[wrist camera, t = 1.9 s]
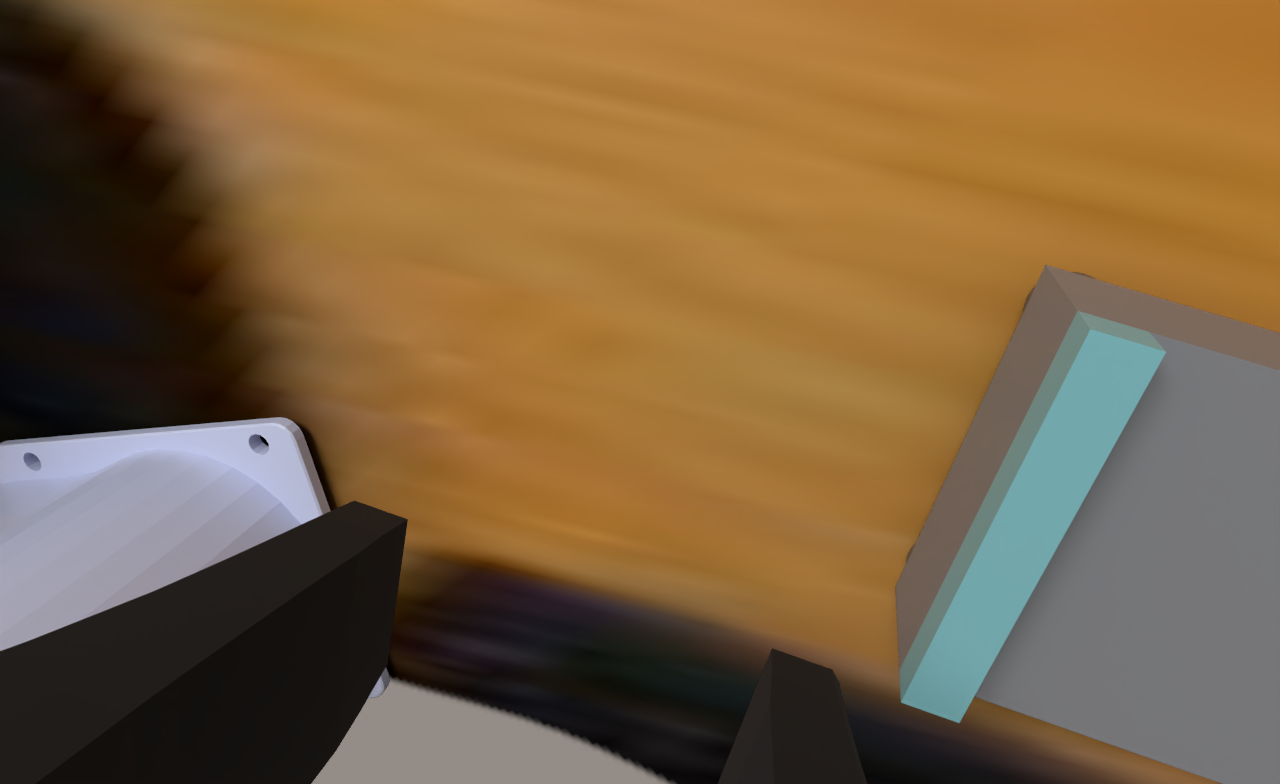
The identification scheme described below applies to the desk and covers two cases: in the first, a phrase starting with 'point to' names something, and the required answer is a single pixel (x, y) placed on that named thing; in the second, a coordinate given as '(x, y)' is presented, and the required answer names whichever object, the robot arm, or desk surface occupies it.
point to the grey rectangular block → (1112, 535)
